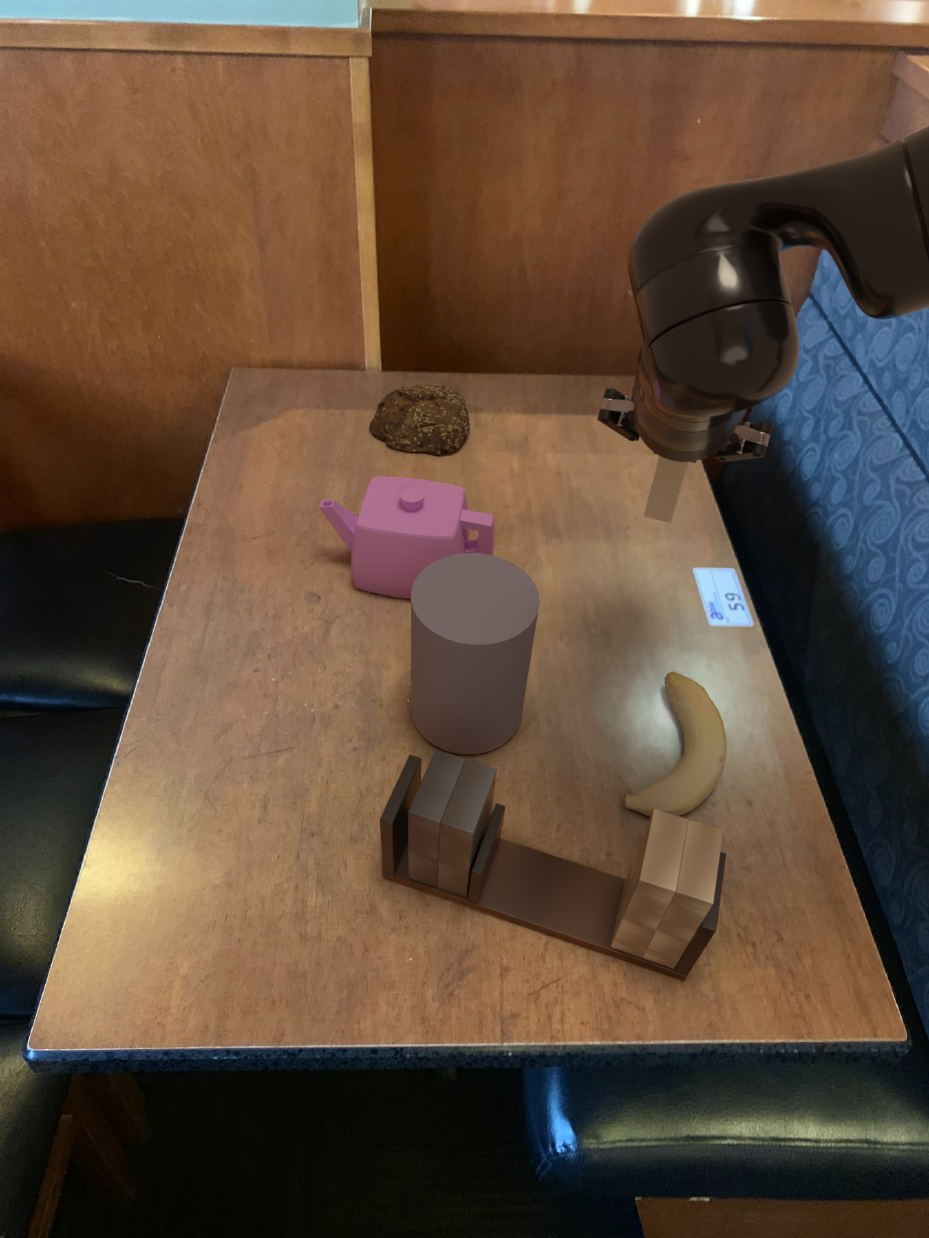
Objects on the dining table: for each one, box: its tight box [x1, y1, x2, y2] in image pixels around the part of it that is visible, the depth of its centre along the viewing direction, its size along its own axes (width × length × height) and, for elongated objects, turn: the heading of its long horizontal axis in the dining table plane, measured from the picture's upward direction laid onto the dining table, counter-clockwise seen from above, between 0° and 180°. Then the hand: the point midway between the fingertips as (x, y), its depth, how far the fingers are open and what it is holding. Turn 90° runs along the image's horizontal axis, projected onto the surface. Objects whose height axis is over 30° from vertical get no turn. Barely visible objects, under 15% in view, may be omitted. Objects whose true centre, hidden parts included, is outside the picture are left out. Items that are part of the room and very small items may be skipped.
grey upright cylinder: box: [410, 553, 541, 755], centre depth 73 cm, size 10×10×15 cm
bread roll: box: [368, 383, 471, 456], centre depth 107 cm, size 13×12×5 cm
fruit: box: [624, 671, 728, 818], centre depth 75 cm, size 7×15×3 cm, turn 157°
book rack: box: [379, 749, 727, 982], centre depth 62 cm, size 24×6×12 cm, turn 71°
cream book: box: [643, 455, 689, 524], centre depth 72 cm, size 2×6×11 cm, turn 161°
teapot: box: [318, 475, 495, 600], centre depth 88 cm, size 18×10×10 cm, turn 82°
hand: (677, 446), depth 74 cm, fingers closed on cream book, 2 cm apart
